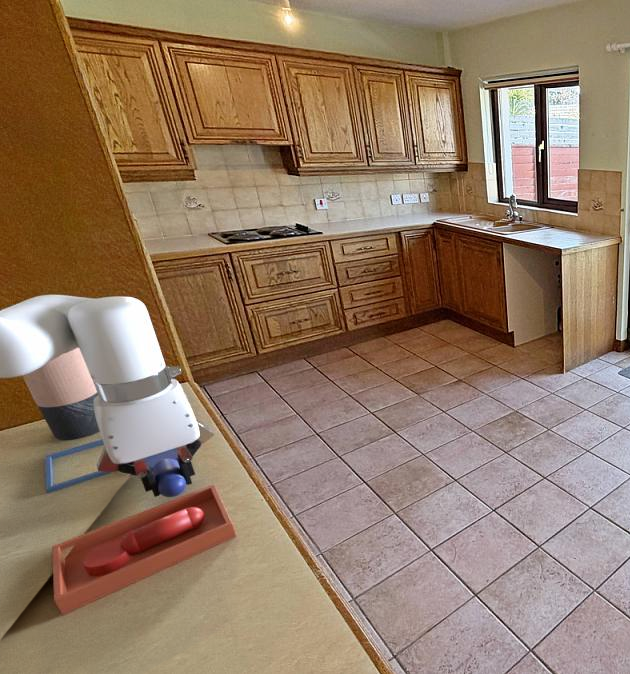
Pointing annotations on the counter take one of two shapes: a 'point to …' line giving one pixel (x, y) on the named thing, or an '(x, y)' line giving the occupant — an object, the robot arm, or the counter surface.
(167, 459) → the blue lumpy rod
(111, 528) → the terracotta tray
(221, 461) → the counter surface
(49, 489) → the blue long rectangular frame
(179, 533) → the red spoon
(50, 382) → the travel mug
